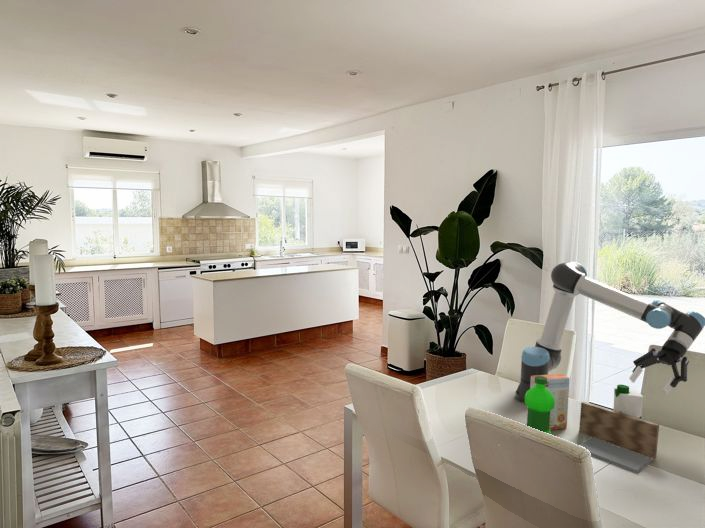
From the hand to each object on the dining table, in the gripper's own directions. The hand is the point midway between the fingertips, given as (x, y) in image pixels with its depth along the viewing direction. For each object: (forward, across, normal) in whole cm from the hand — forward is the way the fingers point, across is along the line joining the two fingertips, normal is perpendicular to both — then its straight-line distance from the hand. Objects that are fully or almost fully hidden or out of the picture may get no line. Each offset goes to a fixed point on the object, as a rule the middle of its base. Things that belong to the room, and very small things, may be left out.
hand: (647, 386), depth 182 cm
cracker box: (+36, +17, +9) cm, 41 cm away
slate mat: (+32, -8, +5) cm, 34 cm away
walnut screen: (+26, -2, -1) cm, 27 cm away
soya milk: (+20, 0, -7) cm, 22 cm away
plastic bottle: (+47, +8, +19) cm, 51 cm away
